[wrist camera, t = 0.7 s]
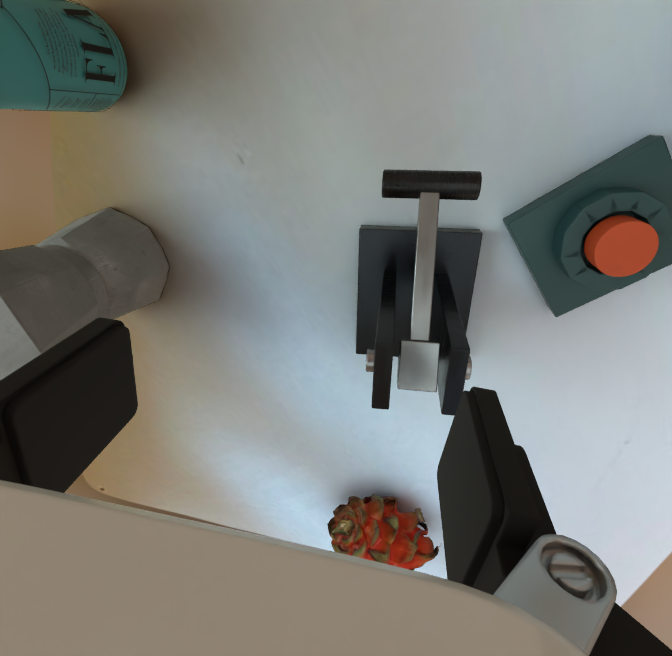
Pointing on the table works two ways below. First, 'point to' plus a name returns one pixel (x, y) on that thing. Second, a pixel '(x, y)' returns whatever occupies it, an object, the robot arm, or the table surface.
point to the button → (621, 245)
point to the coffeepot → (75, 282)
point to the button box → (595, 223)
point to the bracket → (396, 301)
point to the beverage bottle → (58, 57)
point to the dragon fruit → (381, 532)
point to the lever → (425, 264)
